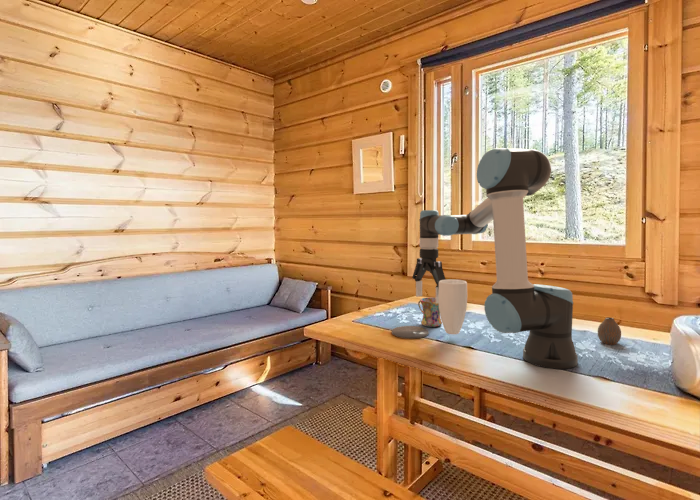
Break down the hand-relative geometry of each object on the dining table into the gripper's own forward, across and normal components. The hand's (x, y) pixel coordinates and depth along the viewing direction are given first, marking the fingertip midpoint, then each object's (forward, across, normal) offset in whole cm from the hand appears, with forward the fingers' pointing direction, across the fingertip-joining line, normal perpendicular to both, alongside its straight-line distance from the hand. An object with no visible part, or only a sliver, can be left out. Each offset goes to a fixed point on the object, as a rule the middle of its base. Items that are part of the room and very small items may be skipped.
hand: (428, 299), depth 168 cm
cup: (+10, -22, +6) cm, 25 cm away
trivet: (+10, -8, +14) cm, 19 cm away
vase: (+10, -50, -40) cm, 64 cm away
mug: (+11, 0, 0) cm, 11 cm away
